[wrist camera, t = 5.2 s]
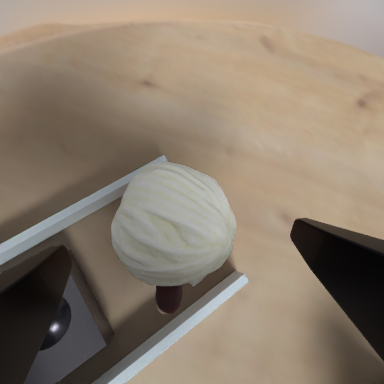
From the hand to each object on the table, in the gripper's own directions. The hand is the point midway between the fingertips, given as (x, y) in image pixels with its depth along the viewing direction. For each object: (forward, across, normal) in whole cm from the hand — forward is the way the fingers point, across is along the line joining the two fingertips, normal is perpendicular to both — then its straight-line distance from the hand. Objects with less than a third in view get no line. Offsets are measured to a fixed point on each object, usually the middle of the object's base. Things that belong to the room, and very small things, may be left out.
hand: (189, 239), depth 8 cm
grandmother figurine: (+7, -1, -6) cm, 9 cm away
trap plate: (+3, -9, -9) cm, 13 cm away
